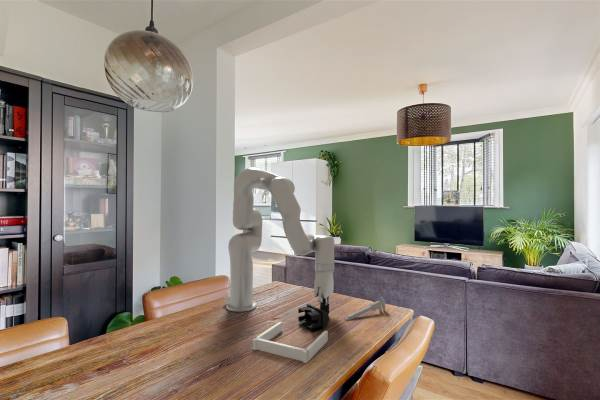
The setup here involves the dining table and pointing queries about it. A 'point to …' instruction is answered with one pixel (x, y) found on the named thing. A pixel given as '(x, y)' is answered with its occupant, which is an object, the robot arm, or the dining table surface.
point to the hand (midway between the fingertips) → (324, 313)
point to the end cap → (313, 318)
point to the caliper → (369, 309)
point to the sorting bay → (287, 350)
